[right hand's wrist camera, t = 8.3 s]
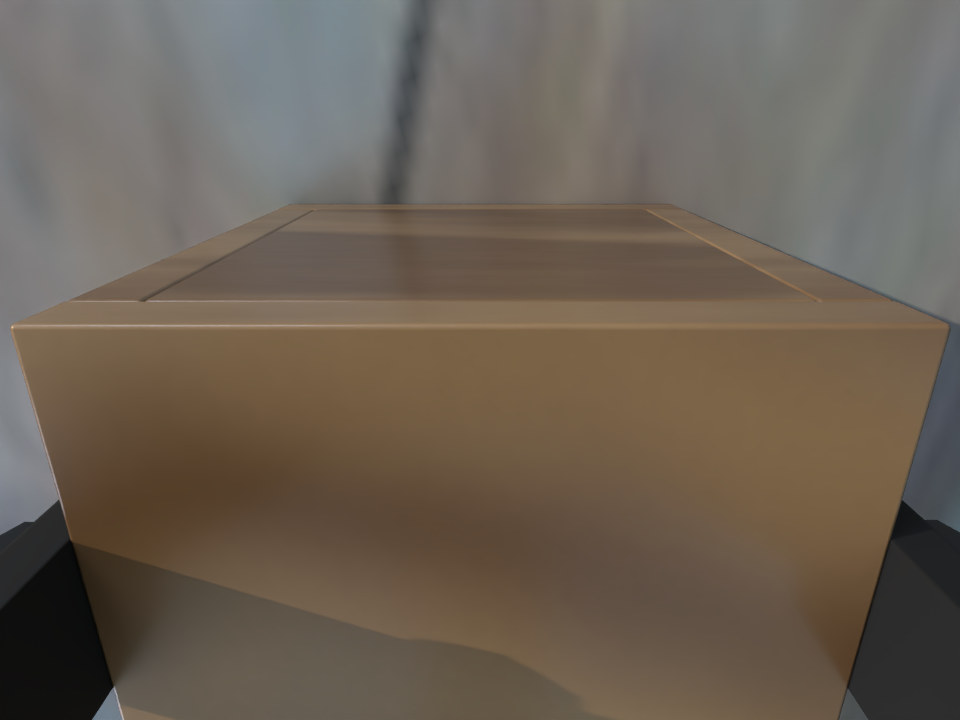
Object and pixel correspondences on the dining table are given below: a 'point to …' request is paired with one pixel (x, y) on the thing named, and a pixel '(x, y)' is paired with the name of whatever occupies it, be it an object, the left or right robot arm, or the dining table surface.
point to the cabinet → (480, 466)
